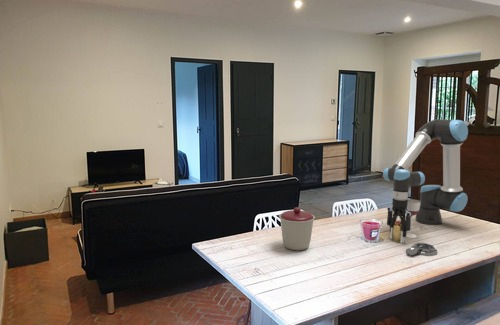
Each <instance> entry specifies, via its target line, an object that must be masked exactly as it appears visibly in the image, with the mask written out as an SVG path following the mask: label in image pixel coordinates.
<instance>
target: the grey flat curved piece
mask: <svg viewBox="0 0 500 325" xmlns="http://www.w3.org/2000/svg"><path fill="white" fill-rule="evenodd" d="M405 253H406V255H407V256H409V257H410V256H414V255H416V254H417V255H419V256H425V257H427V256H428V257H431V256H436V255H437V254H438V250H437V249H436V248H435V246H434V245H432V244H429V243H426V242H416V243H413V245H411V246H410V247H408V248H406V249H405Z"/></svg>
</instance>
